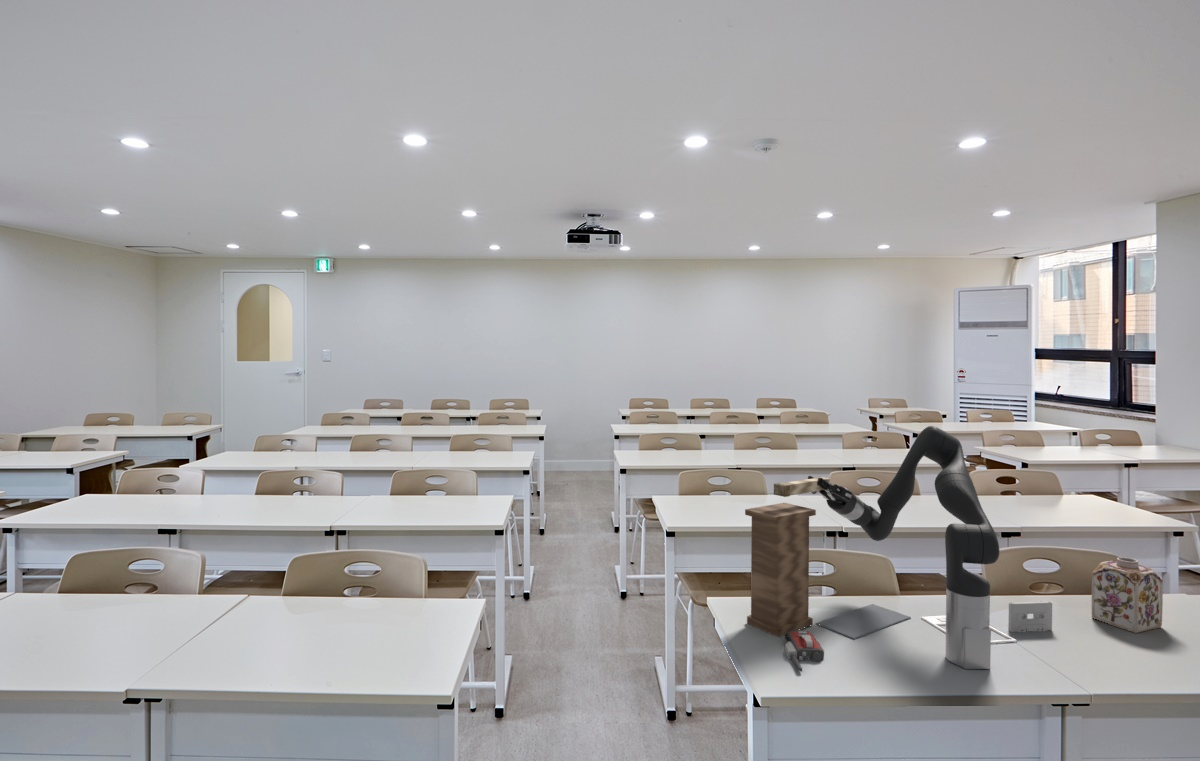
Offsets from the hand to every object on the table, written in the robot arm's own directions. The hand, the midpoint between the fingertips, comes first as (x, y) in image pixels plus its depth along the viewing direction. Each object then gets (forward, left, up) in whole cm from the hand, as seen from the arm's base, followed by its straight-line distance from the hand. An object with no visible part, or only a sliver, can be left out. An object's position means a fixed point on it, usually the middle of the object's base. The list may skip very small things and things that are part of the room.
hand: (813, 479), depth 186 cm
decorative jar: (-4, -86, -39) cm, 94 cm away
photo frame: (-10, -39, -40) cm, 56 cm away
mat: (-5, -13, -39) cm, 41 cm away
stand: (-8, +11, -39) cm, 41 cm away
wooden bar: (-3, +4, -3) cm, 5 cm away
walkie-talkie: (-27, +10, -40) cm, 49 cm away
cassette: (-10, -56, -39) cm, 69 cm away
